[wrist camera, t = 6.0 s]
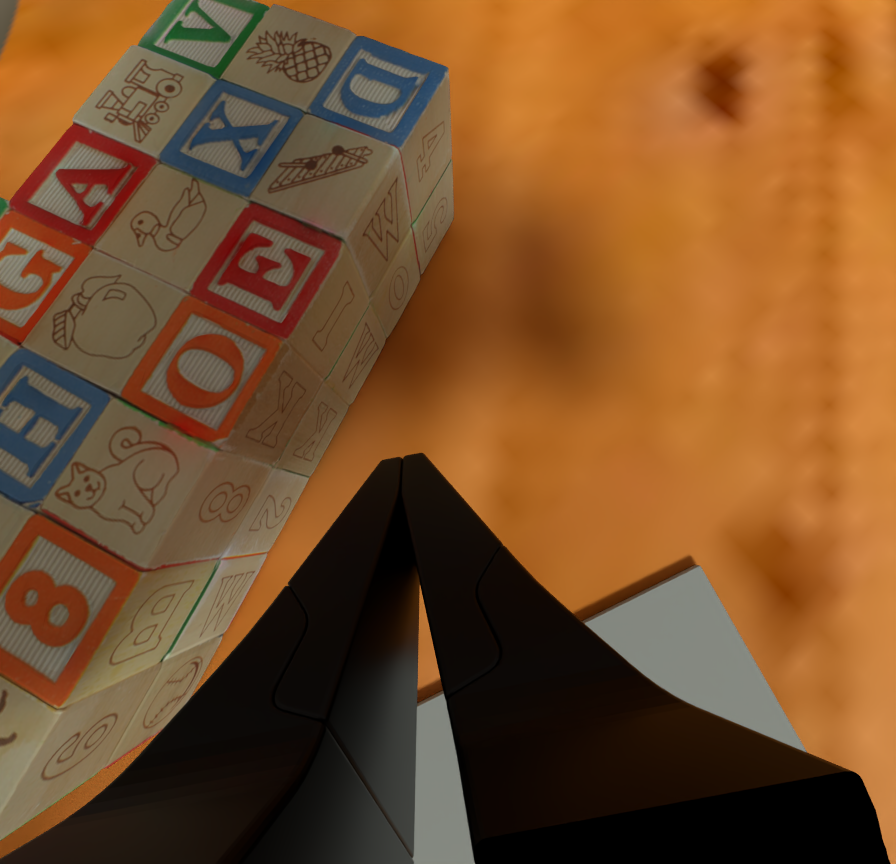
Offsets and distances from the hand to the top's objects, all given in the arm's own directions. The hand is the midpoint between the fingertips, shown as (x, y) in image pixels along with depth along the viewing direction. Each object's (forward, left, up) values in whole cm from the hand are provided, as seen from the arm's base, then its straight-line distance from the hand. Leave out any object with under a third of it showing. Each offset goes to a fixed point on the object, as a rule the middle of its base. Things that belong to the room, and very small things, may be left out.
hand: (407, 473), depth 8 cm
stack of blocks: (+3, +2, -4) cm, 6 cm away
